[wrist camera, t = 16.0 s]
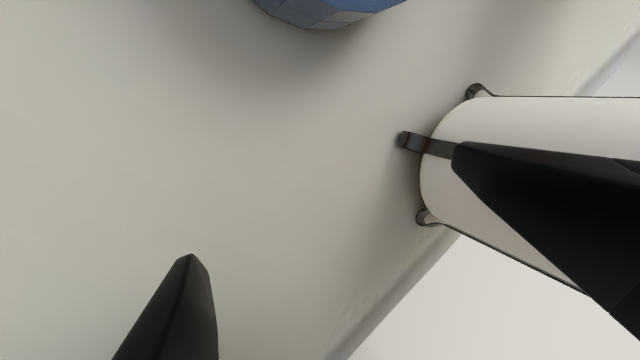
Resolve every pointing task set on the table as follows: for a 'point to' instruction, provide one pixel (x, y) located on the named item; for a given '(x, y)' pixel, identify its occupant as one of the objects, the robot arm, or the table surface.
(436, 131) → the coffee press
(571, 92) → the table surface
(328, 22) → the bowl
